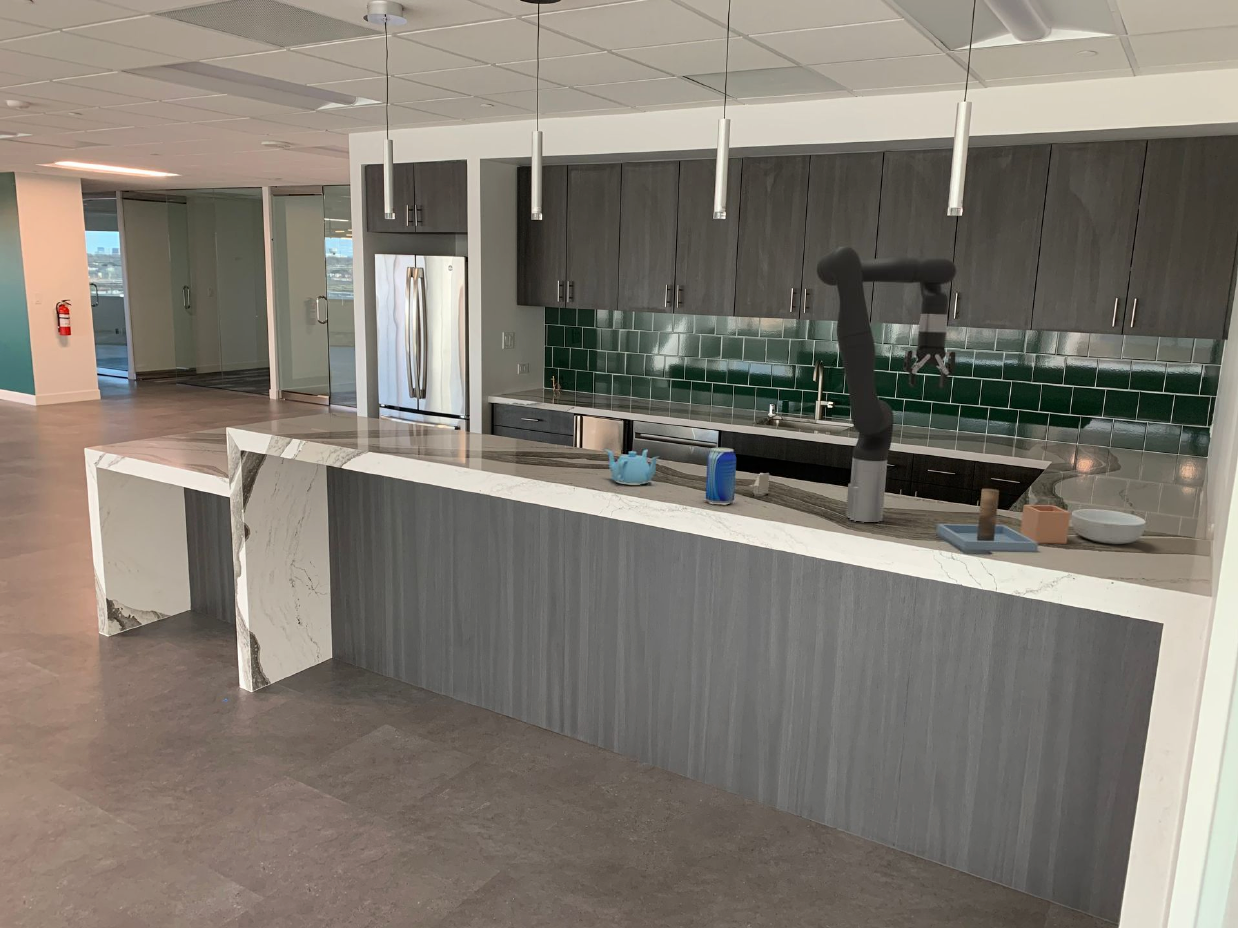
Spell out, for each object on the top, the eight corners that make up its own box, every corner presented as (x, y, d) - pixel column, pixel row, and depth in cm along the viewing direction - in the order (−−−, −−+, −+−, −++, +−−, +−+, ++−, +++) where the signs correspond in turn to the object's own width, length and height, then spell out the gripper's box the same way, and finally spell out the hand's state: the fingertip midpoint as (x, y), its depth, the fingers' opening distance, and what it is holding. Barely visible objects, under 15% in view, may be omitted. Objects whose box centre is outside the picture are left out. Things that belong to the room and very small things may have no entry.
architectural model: (748, 497, 285) (749, 473, 284) (760, 494, 291) (761, 470, 289) (758, 499, 283) (759, 475, 282) (769, 495, 289) (771, 472, 287)
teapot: (614, 487, 291) (615, 455, 290) (603, 478, 306) (604, 447, 304) (659, 487, 295) (660, 455, 293) (646, 477, 309) (647, 447, 307)
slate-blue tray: (964, 553, 225) (965, 541, 224) (936, 535, 242) (937, 523, 242) (1036, 554, 225) (1038, 542, 225) (1003, 536, 243) (1004, 525, 243)
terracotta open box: (1035, 545, 234) (1038, 511, 233) (1020, 537, 242) (1023, 504, 241) (1066, 546, 235) (1070, 512, 233) (1050, 538, 243) (1054, 505, 241)
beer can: (719, 507, 268) (722, 452, 265) (699, 501, 274) (701, 448, 271) (739, 503, 273) (742, 450, 270) (719, 498, 279) (722, 446, 277)
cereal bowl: (1058, 540, 240) (1062, 514, 239) (1082, 531, 252) (1085, 506, 251) (1130, 554, 229) (1133, 526, 227) (1151, 544, 240) (1154, 517, 239)
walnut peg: (980, 542, 232) (985, 491, 229) (974, 538, 236) (979, 488, 233) (996, 542, 232) (1001, 492, 229) (989, 538, 236) (994, 488, 233)
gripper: (912, 330, 260) (907, 387, 263) (962, 331, 261) (956, 389, 264) (903, 329, 268) (898, 385, 270) (951, 330, 268) (946, 386, 271)
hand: (927, 387), depth 267 cm, fingers open, 8 cm apart
